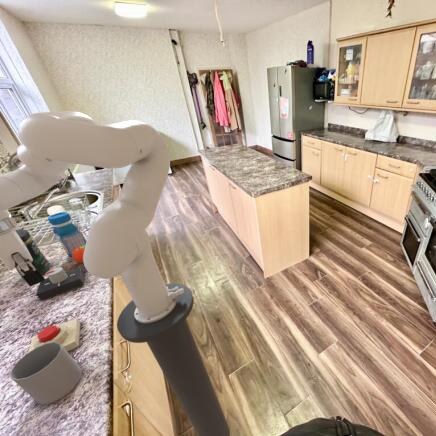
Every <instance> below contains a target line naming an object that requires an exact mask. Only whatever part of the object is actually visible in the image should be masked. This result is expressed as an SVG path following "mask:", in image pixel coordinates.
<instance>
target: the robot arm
mask: <svg viewBox="0 0 436 436" xmlns="http://www.w3.org/2000/svg"><path fill="white" fill-rule="evenodd" d="M17 134H18V138H19V140H20V142H21V143H20V144H19V145H18V146H17V148H16V155H17V157H18V160H19V161H20V162H21V163H22V165H20V167H19V168H17V169H15V170H12V171H8V172H4V173H1V174H0V260H1V262H2V264H4V266H5V267H6V268H7V270H9V271H13V269H16V268H17V269H18V270H19V272H20V273H21V274H22V275H20V277H21V276H22V277H23V278H22V277H21V278H22V279H23V280H24V281H25V282H26V284H27V285H28V286H29V287H33V286H36V285H37V284H40V282H42V281H44V280H45V279H46V278H45V277H44V276H43V274H41V273H40V272H39V271H38V269H37V267H36V265H35V264H34V263H33V259H32V257H31V255H30V253H29V251H28V249H27V247H26V246H25V244H24V243H23V241H22V240H21V238H20V237H19V235H18V234H17V233H16V231H15V230H17V228H18V227H19V223H18V222H17V221H16V219H15V218H14V217H13V215H12V214H11V212H10V211H9V209H12V208H13V207H16V206H19V205H21V204H22V203H26V202H27V201H30V200H32V199H35V198H37V197H39V196H41V195H42V194H45V192H47V191H48V190H49V189H51V188H52V187H53V186H55V185H56V184H57V183H59V181H61V180H62V179H63V176H64V174H65V172H66V171H67V170H69V168H71V167H72V166H73V165H81V166H88V167H95V168H103V169H121V168H126V167H128V166H130V167H129V169H128V171H127V173H126V174H125V176H124V180H123V185H122V188H121V190H120V193H119V195H118V197H117V198H116V199H115V200H114V201H113V202H112V203H110V204H109V205H107V206H106V207H105V208H103V209H102V210H100V211H99V212H98V213H97V214H96V215H95V216H94V219H93V220H92V222H91V224H90V226H89V229H88V234H87V238H86V241H87V242H86V246H85V250H84V254H83V262H84V263H83V265H84V268H85V269H86V271H87V272H88V273H89V274H90V275H92V276H93V277H95V278H98V279H103V280H105V279H112V278H116V277H118V276H119V277H120V278H121V280H122V282H123V284H124V286H125V288H126V289H127V292H128V294H129V296H130V298H131V300H133V301H134V303H135V305H136V307H137V308H136V309H135V312H134V316H135V318H136V320H137V321H138V322H140V323H152V322H155V321H158V320H160V319H162V318H164V317H165V316H167V315H168V314H169V313H170V312H171V311H172V310H173V309H174V307H175V305H176V302H177V299H176V297H177V296H179V295H182V294H184V293H185V292H184V290H183V288H181V289H179V288H178V286H177V287H175V288H173V289H169V290H168V287H167V286H165V284H166V283H165V281H164V279H163V276H162V274H161V271H160V269H159V265H158V264H157V261H156V258H155V256H154V253H153V249H152V243H151V238H150V236H149V233H148V231H147V228H148V227H149V226H150V224H151V223H152V222H153V220H154V218H155V215H156V212H157V208H158V206H159V203H160V200H161V197H162V195H163V191H164V187H165V185H166V183H167V180H168V177H169V173H170V169H171V153H170V150H169V147H168V145H167V143H166V141H165V139H164V137H163V136H162V135H161V133H159V131H158V130H156V129H155V128H154V127H153V126H151V125H150V124H148V123H146V122H143V121H139V120H124V121H118V122H114V123H107V124H98V123H97V122H96V121H95V120H94V119H93V118H91V117H90V116H88V115H87V114H85V113H82V112H79V111H74V110H59V111H58V110H57V111H42V112H35V113H31V114H28V115H27V116H25V117H24V118H23V119H21V121H20V122H19V124H18V128H17ZM15 266H16V268H15ZM17 269H16V270H17Z"/></svg>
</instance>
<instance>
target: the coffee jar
mask: <svg viewBox="0 0 436 436" xmlns="http://www.w3.org/2000/svg"><path fill="white" fill-rule="evenodd" d="M14 230H15V231H16V233H17V234H18V235H19V237H20V238H21V240H22V241H23V243H24V244H25V246H26V247H27V249H28V251H29V253H30V255H31V257H32V259H33V263H34V264H35V265H36V267H37V269H38V271H39V272H40V273H41V275H43V274H46V273H47V272H48V270H49V268H50V264H51V263H50V262H49V260H48V259H47V258H46V256H45V255H44V254H43V252H42V251H41V250H40V248H39V247H38V245H37V244H36V242H35V241H34V239H33V236H32V235H31V233H29V230H27V229H23V228H20V229H14ZM14 269H16V271H17V273H18V274H19V275H20V277H21V278H22V279H23V277H22V276H21V275H22V274H21V273H20V272H19V270H18V269H17V268H16V266H15V268H14Z"/></svg>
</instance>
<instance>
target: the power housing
mask: <svg viewBox="0 0 436 436" xmlns="http://www.w3.org/2000/svg"><path fill="white" fill-rule="evenodd" d="M54 325H55V326H57V327H58V329H59V330H60V333H59V334H58V335H57V336H56V337H54V338H53V339H52V340H49V341H47V342H41V341H40V340H39V339H38V337H37V336H38V334H36V335H33V336H32V338H31V342H30V346H29V348H28V352H27V353H29V352H30V351H32V350H33V349H35V348H37V347H39V346H42V345H44V344H46V343H52V342H57V343H60V344H61V345H62V346H63V347H64V349H65V350H66V351H67V352H68V353H69V351H71V350H74V349H76V348H78V347H79V345H80V331H81V321H80V320H79V318H78V317H76V318H74V319H71V320H68V321H66V322H64V323H58V324H54Z"/></svg>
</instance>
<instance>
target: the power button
mask: <svg viewBox="0 0 436 436" xmlns="http://www.w3.org/2000/svg"><path fill="white" fill-rule="evenodd" d="M55 325H56V324H53V325H49V326H47V327H45V328H44V329H42V330H41V331H40V332H39V333H38V334H37V335H38V336H37V337H38V339H39V340H40V341H41V342H47V341H49V340H52V339H53V338H54V337H56V336H57V335H58V334H59V333H60V330H59V329H58V327H57V326H55Z"/></svg>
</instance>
